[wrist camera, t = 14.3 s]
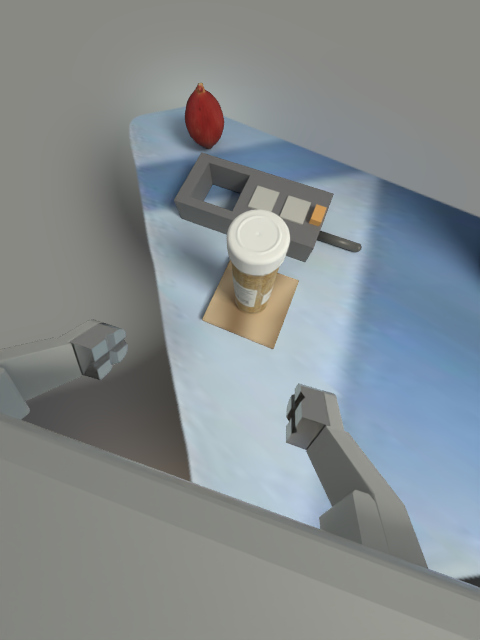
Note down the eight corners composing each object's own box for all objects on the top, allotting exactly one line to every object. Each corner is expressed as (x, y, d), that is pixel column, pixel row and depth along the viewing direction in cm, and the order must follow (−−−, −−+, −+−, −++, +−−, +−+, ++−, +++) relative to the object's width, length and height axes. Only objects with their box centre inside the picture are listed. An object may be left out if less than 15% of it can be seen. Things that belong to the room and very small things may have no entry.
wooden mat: (297, 283, 28) (299, 280, 28) (272, 349, 26) (273, 348, 25) (232, 259, 29) (231, 256, 29) (203, 320, 27) (202, 319, 27)
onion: (185, 152, 34) (168, 88, 26) (203, 129, 35) (192, 62, 28) (214, 165, 33) (205, 104, 26) (232, 142, 35) (228, 76, 27)
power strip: (366, 226, 30) (385, 204, 26) (350, 278, 28) (368, 262, 24) (205, 174, 33) (200, 146, 29) (181, 218, 31) (172, 195, 27)
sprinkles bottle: (274, 306, 27) (303, 247, 14) (243, 320, 26) (243, 274, 13) (259, 277, 28) (272, 197, 15) (228, 291, 27) (215, 220, 14)
